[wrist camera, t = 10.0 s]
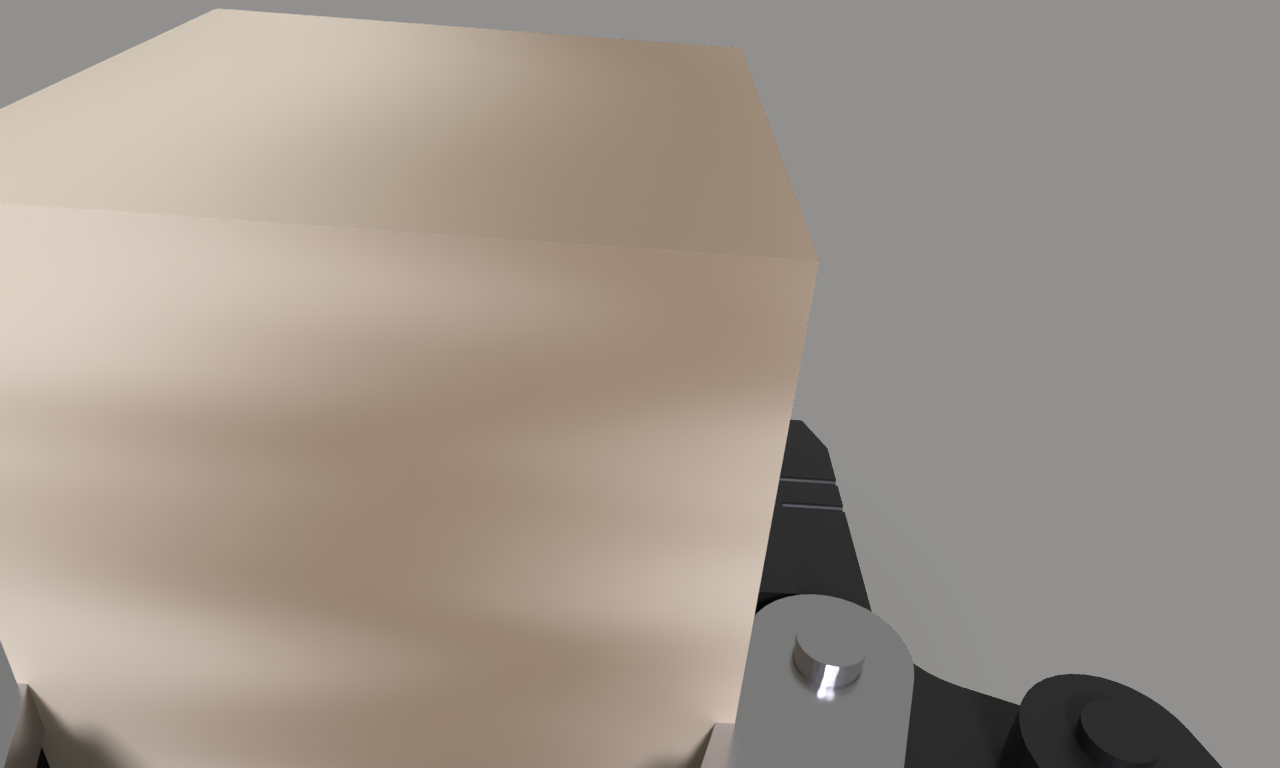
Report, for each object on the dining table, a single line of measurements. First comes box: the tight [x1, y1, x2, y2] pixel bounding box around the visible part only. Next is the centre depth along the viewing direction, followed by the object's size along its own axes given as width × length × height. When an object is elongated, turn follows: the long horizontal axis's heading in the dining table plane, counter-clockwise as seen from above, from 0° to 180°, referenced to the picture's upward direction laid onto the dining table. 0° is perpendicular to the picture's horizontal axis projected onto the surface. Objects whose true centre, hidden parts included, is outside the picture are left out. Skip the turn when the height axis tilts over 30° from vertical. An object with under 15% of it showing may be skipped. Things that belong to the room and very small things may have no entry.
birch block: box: [0, 9, 819, 768], centre depth 9 cm, size 5×5×11 cm
